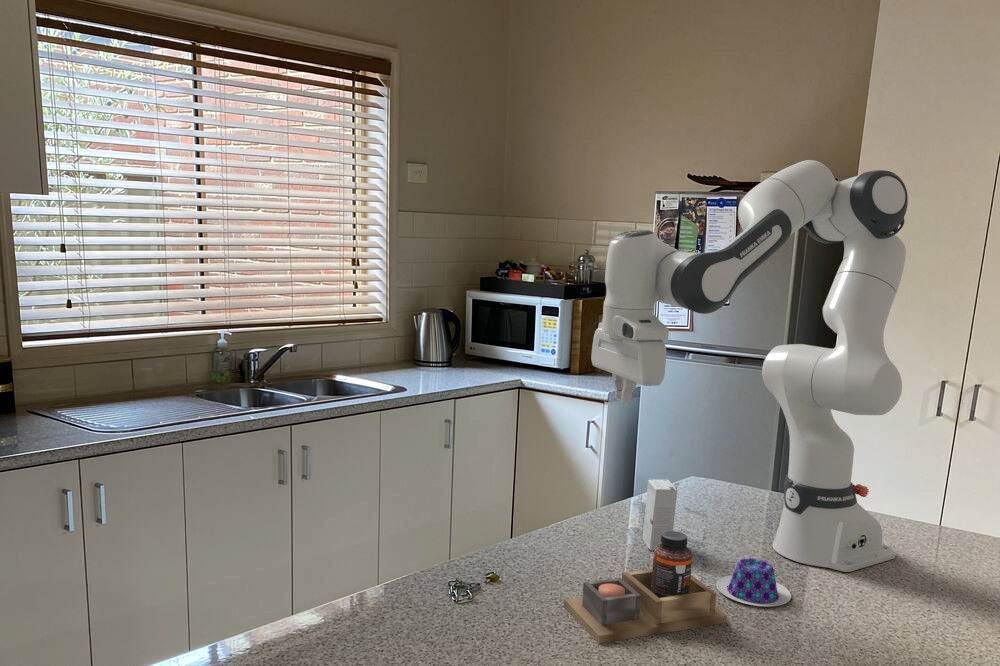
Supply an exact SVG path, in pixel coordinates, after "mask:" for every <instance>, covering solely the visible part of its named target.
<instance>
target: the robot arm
mask: <svg viewBox="0 0 1000 666" xmlns="http://www.w3.org/2000/svg"><path fill="white" fill-rule="evenodd" d="M908 197H909V195H908V191H907V187H906V185H905V183H904V181H903V180H902V178H901V177H900V176H899V175H898V174H896V173H894V172H893V171H889V170H883V169H882V170H881V169H877V170H869V171H866V172H865V171H864V172H863V173H861V174H860V175H855V176H853V177H849V178H846V179H843V180H841V181H839V180H836V179H835V176H834V175H833V173H832V171H831V169H829V167H827V166H826V165H825V163H822V162H820V161H818V160H814V159H808V160H807V159H806V160H802V161H799V162H796V163H795V164H792V165H789V166H787V167H785V168H783V169H781V170H779V171H777V172H776V173H774V174H772V175H770V176H769V177H767V178H765V179H764V180H762V181H761V182H760V183H758V184H756V185H755V186H753V187H752V189H750V190H749V191H748V192H747V193H746V194H745V195H744V196H743V197H742V198H741V200H740V201H739V205H738V208H737V209H738V210H737V217H738V221H739V224H740V227H741V229H742V232H740V233H739V234H738V235H737V236H736V237H734V238H733V239H732V240H730V241H729V242H728V243H727V244H726V245H724V246H723V247H721V248H719V249H718V250H715V251H714V250H713V251H709V252H688V251H683V250H682V251H680V250H679V249H677V248H674V247H672V246H671V245H669V244H667V243H666V242H664V241H663V240H661V239H660V238H659V237H658V236H657V235H656V233H655V232H654V231H651V230H645V229H644V230H643V229H642V230H641V229H639V230H629V231H623V232H620V233H617V234H616V235H615V236H613V237H612V238H611V240H610V243H609V246H608V250H607V255H606V261H605V262H606V263H605V271H604V272H605V276H604V283H605V288H606V289H605V290H606V294H605V299H604V301H603V306H602V307H603V308H602V310H603V311H602V318H601V321H600V322H599V323H598V327H597V328H596V330H595V331H594V335H593V338H592V339H593V340H592V347H591V357H590V358H591V363H592V366H593V367H595V368H598V369H599V370H603V371H605V372H608V373H611V374H612V376H611V377H612V378H611V379H612V383H613V387H614V390H615V391H614V399H615V400H617V401H619V402H622V403H624V404H627V403H628V404H629V403H631V402H632V399H633V393H634V391H635V389H636V387H637V384H638V385H641V386H645V387H652V386H661V384H662V383H663V381H664V378H665V375H666V374H665V372H666V364H667V346H666V344H665V342H664V341H667V340H668V339H669V335H670V333H669V332H670V331H669V328H668V327H667V326H666V325H665V324H664V322H662V321H661V320H660V318H658V317H657V316H656V314H655V305H656V303H657V302H658V303H661V304H664V305H670V306H673V307H677V308H683V309H686V310H689V311H692V312H694V313H696V314H703V315H706V314H707V315H708V314H712V313H715V312H717V311H719V310H720V309H722V307H724V306H725V305H726V304H727V303H728V301H729V300H730V299H731V298H732V296H733V294H734V292H735V291H736V290H737V288H738V287H739V285H741V283H742V282H743V281H744V280H745V279H746V278H747V277H748V276H749V275H750V274H751V273H753V272H754V271H755V270H756V269H758V267H760V266H761V265H762V264H763V263H764V262H766V261H767V260H768V259H769V258H770V257H772V256H773V255H774V254H775V253H777V251H778V250H780V249H781V248H782V246H784V245H785V244H786V242H787V241H788V240H789V238H790V236H792V235H793V234H794V233H795V232H797V231H799V230H800V229H801V228H802V227H803V229H804V230H805V232H806V234H807V235H808V236H809V237H810V238H811V239H813V240H814V241H817V242H819V243H822V244H837V243H841V242H843V248H844V249H843V250H844V251H843V259H842V261H841V263H840V265H839V267H838V270H837V271H836V274H835V276H834V279H833V282H832V284H831V287H830V289H829V292H828V294H827V296H826V299H825V301H824V304H823V306H822V317H823V320H824V322H825V324H826V326H828V328H830V329H831V330H832V331H833V332H834V333H835V334H837V335H838V338H837V342H836V344H835V347H834V348H829V347H822V346H817V345H811V344H803V343H793V344H791V343H790V344H781V345H780V344H779V345H777V346H775V347H773V348H772V349H771V350H770V351H769V352H768V353H767V355H766V357H765V358H764V360H763V364H762V368H761V374H762V380H763V382H764V383H763V384H764V386H765V387H766V389H767V390H768V391H769V392H770V393H771V394H772V396H774V398H775V400H776V401H777V402H778V404H779V406H780V409H781V410H782V413H783V415H784V418H785V421H786V424H787V430H788V435H789V451H788V452H789V455H788V456H789V457H788V471H787V474H785V478H784V484H783V485H784V487H783V497H784V501H783V507H782V511H781V515H780V519H779V520H780V521H779V524H778V528H777V530H776V534H775V537H774V539H773V542H772V548H773V550H774V551H775V552H777V554H779V555H781V556H783V558H787V559H789V560H791V561H795V562H798V563H800V564H804V565H808V566H809V565H810V566H815V567H821V568H829V569H833V570H836V571H839V572H844V573H846V572H847V573H851V572H853V571H854V572H855V571H857V570H861V569H864V568H867V567H870V566H875V565H876V564H880V563H885V562H886V561H890V560H893V559H896V553H895V551H894V550H893V549H892V548H891V547H890V546H888V545H886V544H885V543H884V542H883V530H882V528H883V527H882V526H881V523H880V522H879V521H878V520H877V518H875V517H874V516H873V515H872V514H871V513H869V511H867V510H866V509H865V508H864V507H863V506H862V505H861V504H860V503H858V500H857V495H858V496H860V497H862V498H867V496H868V495H869V492H870V490H869V488H868V486H865V485H862V484H860V483H857V484H853V482H852V475H853V466H854V454H855V447H854V443H853V440H852V438H851V436H850V435H849V434H848V433H847V432H845V430H843V429H842V428H841V427H840V426H839V425H838V424H837V422H836V420H835V419H834V416H833V413H832V411H836V412H842V413H846V414H850V415H854V416H884V415H887V413H889V412H890V411H892V410H893V409H894V408H895V407H896V406H897V404H898V402H899V400H900V398H901V396H902V391H903V381H902V377H901V374H900V372H899V370H898V368H897V366H896V365H895V364H894V363H893V362H892V360H891V359H890V358H889V356H888V354H887V350H886V348H885V343H884V342H885V341H884V335H885V334H884V332H885V327H886V325H887V322H888V318H889V314H890V311H891V309H892V306H893V303H894V300H895V298H896V295H897V293H898V289H899V287H900V283H901V281H902V276H903V273H904V268H905V263H906V255H907V250H906V246H905V244H904V242H903V240H902V239H901V238H900V237H899V236H897V235H896V234H898V233H899V232H900V231H901V230H902V228H903V227H904V225H905V216H906V213H907V210H908V202H909V198H908Z"/></svg>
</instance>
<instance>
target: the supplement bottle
mask: <svg viewBox="0 0 1000 666" xmlns="http://www.w3.org/2000/svg"><path fill="white" fill-rule="evenodd" d="M687 544H688V536H687V535H686V534H685V533H684V532H681V531H676V530H673V531H665V532H663V533H662V534H661V544H658V545H657V546H656V547H655V549H654V551H653V559H652V584H651V592H652V593H653V594H655V595H656V596H657V597H658V598H663V597H670V596H677V595H684V594H690V580H691V575H692V567H693V552H692V550H691V549H690V548H689V547H688V546H687Z"/></svg>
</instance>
